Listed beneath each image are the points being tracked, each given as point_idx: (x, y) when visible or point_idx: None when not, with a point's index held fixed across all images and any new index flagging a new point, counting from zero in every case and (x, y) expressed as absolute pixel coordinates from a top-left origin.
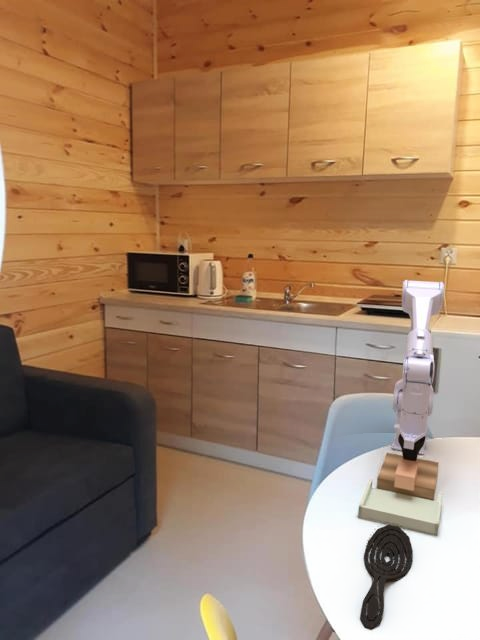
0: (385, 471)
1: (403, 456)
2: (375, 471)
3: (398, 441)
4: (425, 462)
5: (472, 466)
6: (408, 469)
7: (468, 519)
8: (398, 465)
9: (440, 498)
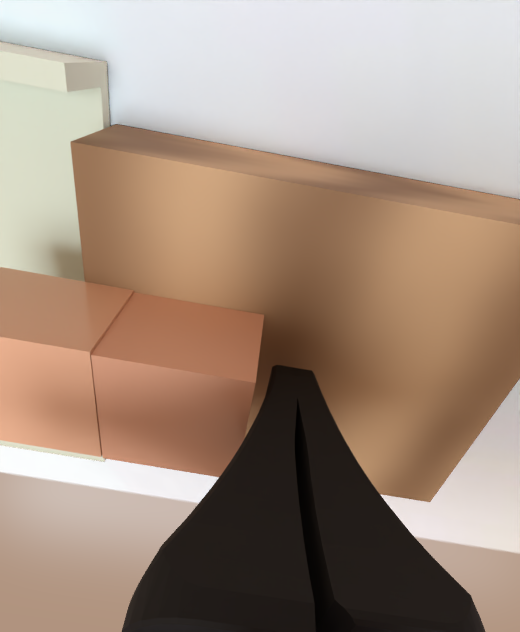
0: (217, 216)
1: (254, 420)
2: (419, 118)
3: (165, 561)
4: (422, 455)
5: (493, 545)
6: (69, 415)
7: (65, 471)
8: (103, 358)
9: (54, 450)
